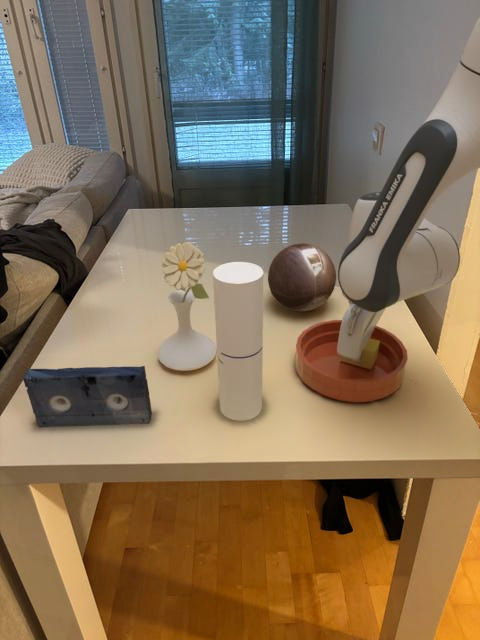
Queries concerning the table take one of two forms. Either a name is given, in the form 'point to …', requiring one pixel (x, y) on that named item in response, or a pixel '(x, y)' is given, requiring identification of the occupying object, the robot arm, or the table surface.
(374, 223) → the robot arm
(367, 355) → the sponge
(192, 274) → the flower in vase
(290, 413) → the table surface
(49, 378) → the vhs cassette tape
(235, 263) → the cylindrical container
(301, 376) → the bowl
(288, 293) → the wooden sphere
